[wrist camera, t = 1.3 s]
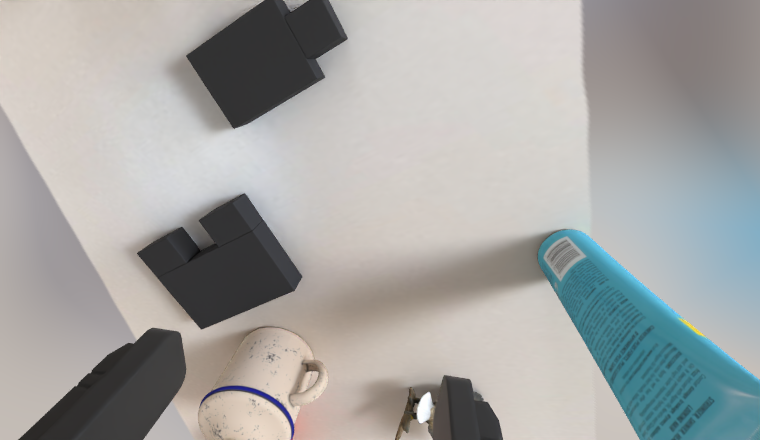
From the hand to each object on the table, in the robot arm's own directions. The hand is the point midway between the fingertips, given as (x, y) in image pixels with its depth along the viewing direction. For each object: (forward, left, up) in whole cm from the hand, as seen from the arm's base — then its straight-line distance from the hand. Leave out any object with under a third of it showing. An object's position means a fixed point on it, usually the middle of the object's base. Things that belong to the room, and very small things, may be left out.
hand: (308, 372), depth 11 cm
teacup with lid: (+14, -20, -23) cm, 33 cm away
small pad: (-12, -3, -22) cm, 25 cm away
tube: (+14, +11, -23) cm, 29 cm away
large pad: (+1, -19, -23) cm, 29 cm away
